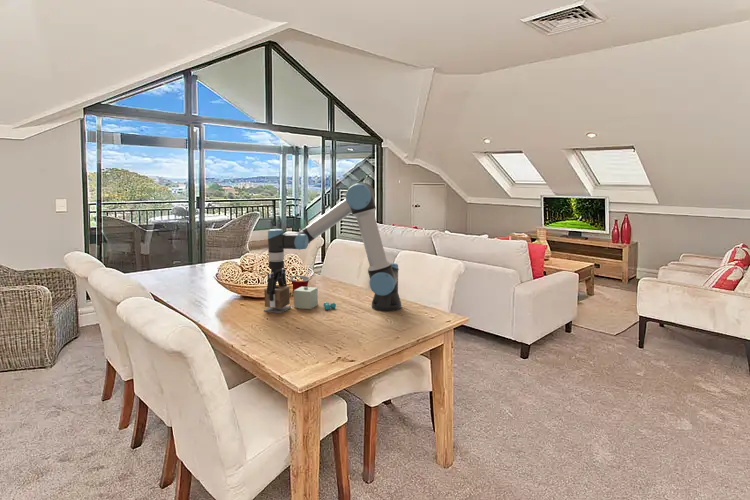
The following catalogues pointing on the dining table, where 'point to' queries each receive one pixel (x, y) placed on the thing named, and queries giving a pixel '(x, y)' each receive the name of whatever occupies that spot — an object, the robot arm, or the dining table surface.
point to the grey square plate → (277, 309)
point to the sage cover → (305, 297)
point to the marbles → (327, 306)
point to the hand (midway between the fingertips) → (277, 304)
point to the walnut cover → (278, 297)
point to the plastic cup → (299, 282)
